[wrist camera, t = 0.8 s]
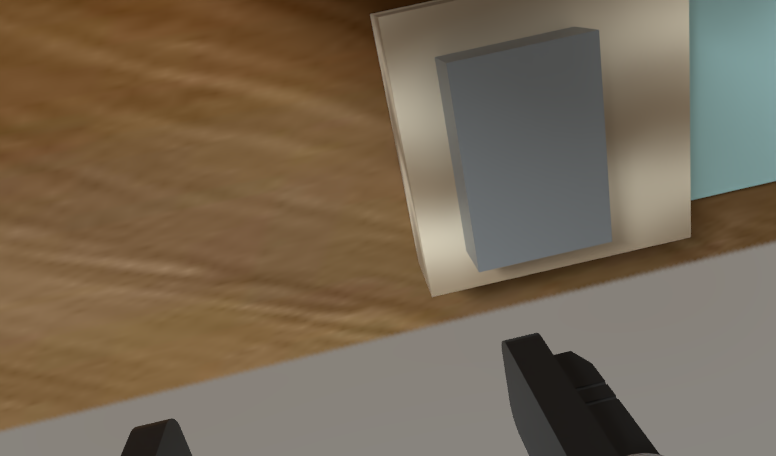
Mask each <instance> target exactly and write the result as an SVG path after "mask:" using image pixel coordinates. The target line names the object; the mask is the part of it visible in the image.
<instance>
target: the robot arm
mask: <svg viewBox="0 0 776 456" xmlns="http://www.w3.org/2000/svg"><path fill="white" fill-rule="evenodd" d="M502 354H503V360H504V367H505V373H506V380H507V386H508V393H509V400H510V406H511V410H512V414H513V418H514V421H515V424H516V427H517V430H518V432H519V435H520V437H521V439H522V441H523V443H524V445H525V448H526V450H527V452H528V454H529V456H662V455H660V454H659V453H658V452H657V450H656V449H655V447H654V446H653V445H652V443H651V442H650V441H649V439H648V438H647V437H646V435H645V434H644V433H643V432H642V430H641V429H640V427H639V426H638V425H637V423H636V422H635V421H634V419H633V418H632V416H631V415H630V414H629V413H628V411H627V410H626V408H625V407H624V406H623V404H622V403H621V402H620V400H619V399H617V398H616V395H615V394H614V392H613V391H612V390H611V388H610V387H609V386H608V384H607V385H606V383H605V380H604V379H603V378H602V376H601V375H600V374H599V372H598V371H597V370H596V368H595V367H594V366H593V364H592V363H590V362H589V361H587V360H585V359H583V358H582V357H580V356H578V355H577V354H575V353H573V352H572V351H569V352H565V353H560V354H556V355H553V354H552V352H551V351H550V349H549V348H548V346H547V344H546V343H545V341H544V340H543V338H542V337H541V336H540V334H539V333H534V334H530V335H526V336H521V337H517V338H513V339H509V340H505V341H502ZM121 456H192V454H191V452H190V449H189V447H188V445H187V442H186V440H185V437H184V435H183V433H182V430H181V428H180V426H179V424H178V422H177V421H176V420H175V419H168V420H163V421H159V422H155V423H151V424H147V425H142V426H138V427H135V428H134V429H133V430H132V431H131V433H130V435H129V437H128V440H127V442H126V445H125V447H124V449H123V452H122V454H121Z"/></svg>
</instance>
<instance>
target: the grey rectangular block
mask: <svg viewBox="0 0 776 456" xmlns="http://www.w3.org/2000/svg"><path fill="white" fill-rule="evenodd" d="M435 62H436V69H437V75H438V81H439V87H440V93H441V99H442V105H443V111H444V117H445V124H446V130H447V136H448V142H449V148H450V154H451V160H452V166H453V172H454V179H455V185H456V191H457V197H458V203H459V209H460V215H461V221H462V227H463V234H464V240H465V246H466V251H467V253H468V254H469V256H470V258H471V260H472V261H473V263H474V265H475V266H476V268H477V270H478V272H483V271H488V270H492V269H496V268H501V267H505V266H509V265H514V264H518V263H522V262H527V261H531V260H535V259H540V258H544V257H548V256H553V255H557V254H561V253H566V252H570V251H574V250H579V249H583V248H587V247H592V246H596V245H600V244H605V243H609V242H612V229H611V213H610V197H609V181H608V165H607V149H606V133H605V117H604V101H603V85H602V69H601V53H600V37H599V30H597V29H589V28H582V27H570V28H565V29H561V30H556V31H551V32H547V33H542V34H538V35H533V36H529V37H524V38H519V39H515V40H510V41H506V42H501V43H497V44H492V45H487V46H483V47H478V48H474V49H469V50H465V51H460V52H455V53H451V54H446V55H442V56H437V57H435Z"/></svg>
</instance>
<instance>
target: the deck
mask: <svg viewBox="0 0 776 456" xmlns="http://www.w3.org/2000/svg"><path fill="white" fill-rule="evenodd" d="M370 18H371V23H372V28H373V33H374V38H375V43H376V48H377V53H378V58H379V63H380V68H381V73H382V78H383V84H384V89H385V94H386V99H387V104H388V109H389V114H390V119H391V124H392V129H393V134H394V139H395V144H396V149H397V154H398V159H399V164H400V169H401V175H402V180H403V185H404V190H405V195H406V200H407V205H408V210H409V215H410V220H411V225H412V230H413V235H414V240H415V245H416V250H417V255H418V260H419V264H420V267H421V269H422V272H423V275H424V277H425V280H426V283H427V285H428V288H429V290H430V293H431V296H432V297H434V296H439V295H443V294H447V293H452V292H456V291H460V290H465V289H469V288H473V287H478V286H482V285H486V284H491V283H495V282H499V281H504V280H508V279H512V278H516V277H521V276H525V275H529V274H534V273H538V272H542V271H547V270H551V269H555V268H560V267H564V266H568V265H573V264H577V263H581V262H586V261H590V260H594V259H599V258H603V257H607V256H612V255H616V254H620V253H625V252H629V251H633V250H638V249H642V248H646V247H651V246H655V245H659V244H664V243H668V242H672V241H677V240H681V239H685V238H690V237H691V178H690V60H689V0H433V1H428V2H423V3H419V4H414V5H409V6H405V7H400V8H396V9H391V10H386V11H382V12H377V13H372V14H370ZM570 27H582V28H589V29H597V30H599V37H600V53H601V69H602V85H603V101H604V117H605V133H606V149H607V165H608V181H609V197H610V213H611V229H612V242H609V243H605V244H600V245H596V246H592V247H587V248H583V249H579V250H574V251H570V252H566V253H561V254H557V255H553V256H548V257H544V258H540V259H535V260H531V261H527V262H522V263H518V264H514V265H509V266H505V267H501V268H496V269H492V270H488V271H483V272H478V270H477V268H476V266H475V265H474V263H473V261H472V260H471V258H470V256H469V254H468V253H467V251H466V246H465V240H464V234H463V227H462V221H461V215H460V209H459V203H458V197H457V191H456V185H455V179H454V172H453V166H452V160H451V154H450V148H449V142H448V136H447V130H446V124H445V117H444V111H443V105H442V99H441V93H440V87H439V81H438V75H437V69H436V62H435V57H437V56H442V55H446V54H451V53H455V52H460V51H465V50H469V49H474V48H478V47H483V46H487V45H492V44H497V43H501V42H506V41H510V40H515V39H519V38H524V37H529V36H533V35H538V34H542V33H547V32H551V31H556V30H561V29H565V28H570Z"/></svg>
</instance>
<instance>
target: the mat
mask: <svg viewBox="0 0 776 456" xmlns="http://www.w3.org/2000/svg"><path fill="white" fill-rule="evenodd" d="M689 60H690V178H691V200H695V199H699V198H704V197H708V196H712V195H717V194H721V193H725V192H730V191H734V190H738V189H743V188H747V187H752V186H756V185H760V184H765V183H769V182H773V181H776V0H689Z"/></svg>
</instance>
